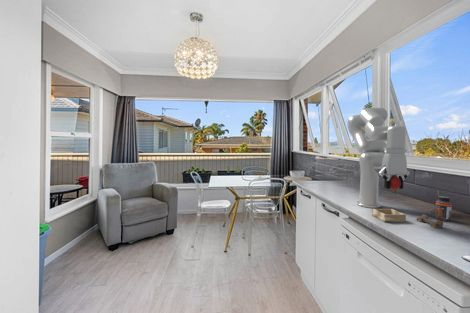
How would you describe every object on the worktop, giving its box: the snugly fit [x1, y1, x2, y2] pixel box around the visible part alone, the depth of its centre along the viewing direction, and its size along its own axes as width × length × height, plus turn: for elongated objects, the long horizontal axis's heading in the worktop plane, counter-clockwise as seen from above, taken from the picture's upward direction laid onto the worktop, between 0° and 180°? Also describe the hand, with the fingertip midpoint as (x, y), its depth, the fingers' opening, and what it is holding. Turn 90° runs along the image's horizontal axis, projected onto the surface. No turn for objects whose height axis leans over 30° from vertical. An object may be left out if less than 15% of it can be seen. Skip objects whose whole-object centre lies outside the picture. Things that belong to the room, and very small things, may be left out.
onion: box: [389, 175, 401, 192], centre depth 119 cm, size 6×6×8 cm
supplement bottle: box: [434, 195, 453, 222], centre depth 119 cm, size 6×6×11 cm
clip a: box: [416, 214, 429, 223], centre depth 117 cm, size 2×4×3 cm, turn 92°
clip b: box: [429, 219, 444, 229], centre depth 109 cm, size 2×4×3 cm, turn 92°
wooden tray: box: [371, 208, 407, 223], centre depth 120 cm, size 10×10×4 cm
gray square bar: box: [417, 215, 442, 227], centre depth 113 cm, size 12×1×1 cm, turn 2°
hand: (393, 188), depth 119 cm, fingers closed on onion, 5 cm apart
